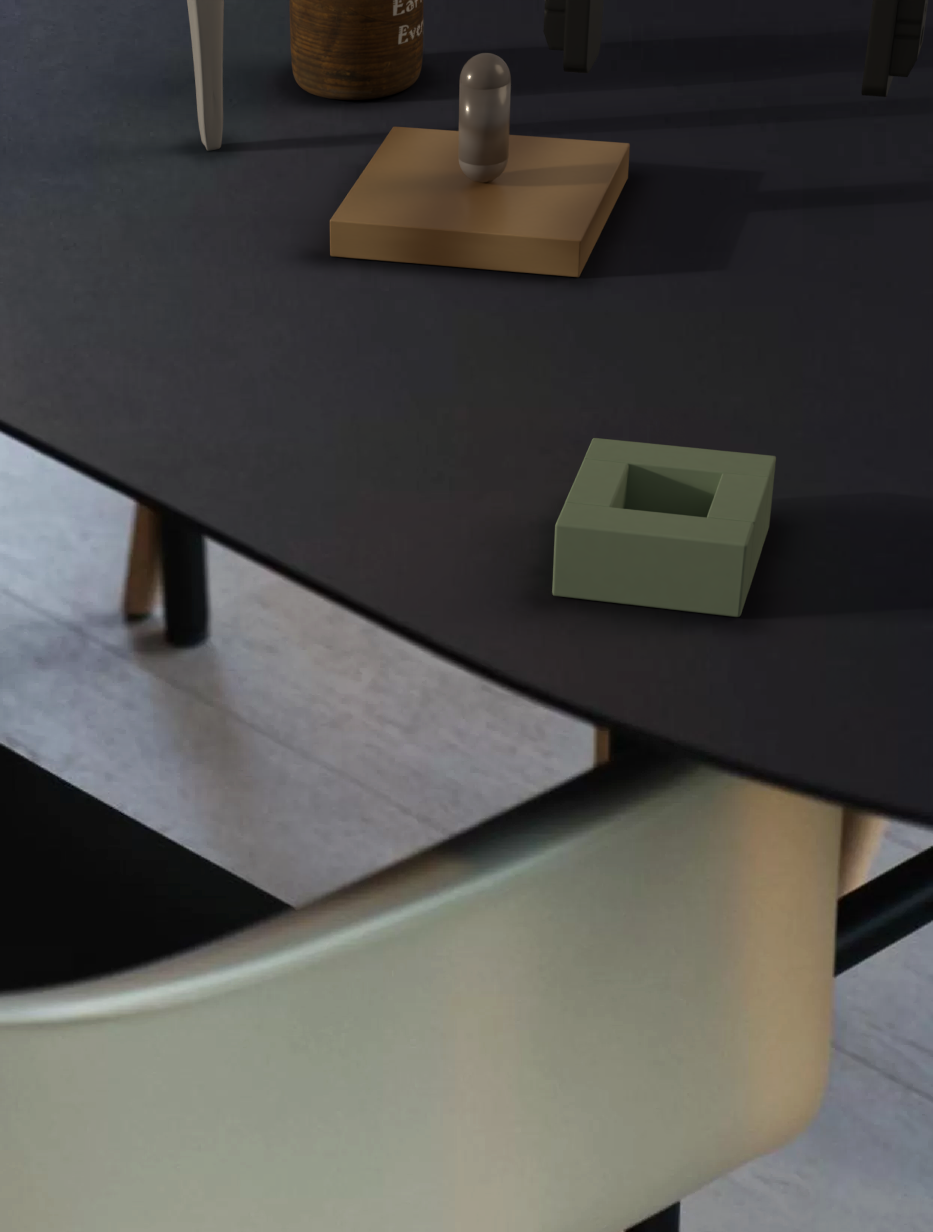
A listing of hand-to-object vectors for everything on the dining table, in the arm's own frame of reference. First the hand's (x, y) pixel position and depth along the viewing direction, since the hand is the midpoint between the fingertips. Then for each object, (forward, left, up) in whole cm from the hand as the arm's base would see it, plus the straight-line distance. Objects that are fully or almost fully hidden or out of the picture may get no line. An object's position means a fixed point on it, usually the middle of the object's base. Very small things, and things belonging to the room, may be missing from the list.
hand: (728, 75), depth 78 cm
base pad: (+13, -25, -15) cm, 32 cm away
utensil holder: (+22, -39, -16) cm, 47 cm away
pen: (+26, -30, -16) cm, 43 cm away
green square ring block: (+1, +1, -15) cm, 15 cm away
